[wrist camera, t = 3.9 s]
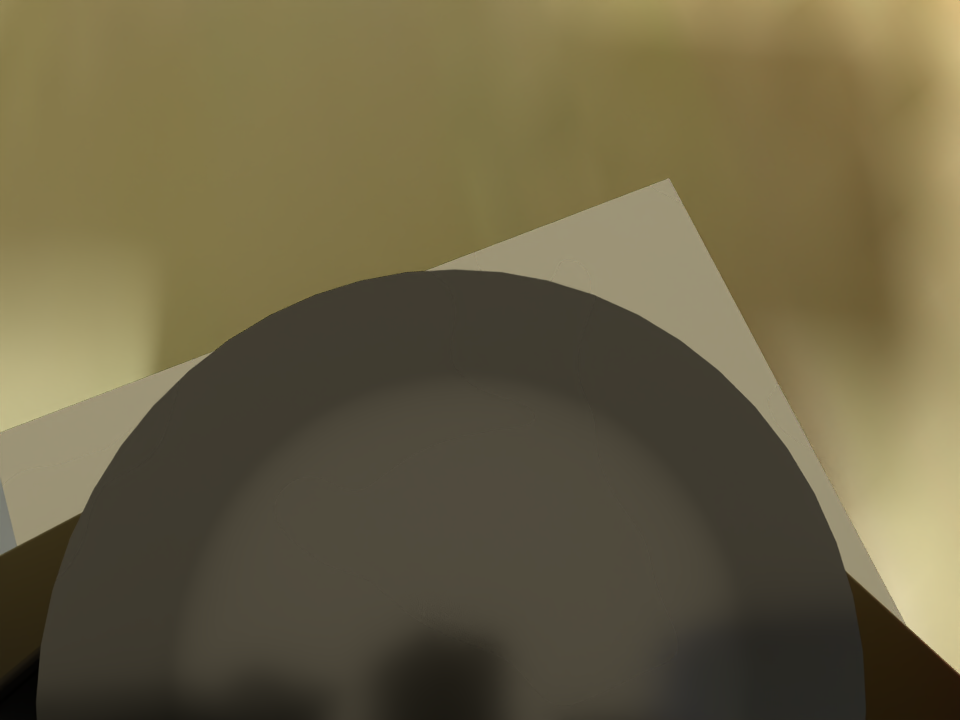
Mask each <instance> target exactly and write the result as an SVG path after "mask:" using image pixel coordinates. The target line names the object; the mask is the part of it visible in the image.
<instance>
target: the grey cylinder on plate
mask: <svg viewBox="0 0 960 720" xmlns="http://www.w3.org/2000/svg"><path fill="white" fill-rule="evenodd" d="M0 478H1V483H2V487H3V491H4V495H5V499H6V503H7V507H8V511H9V515H10V519H11V524H12V528H13V532H14V536H15V540H16V544H17V546H18V545H20V544H22V543H24V542H26V541H28V540H30V539H32V538H34V537H36V536H38V535H39V534H41V533H43V532H45V531H47V530H49V529H51V528H53V527H55V526H57V525H59V524H61V523H62V522H64V521H66V520H68V519H70V518H72V517H74V516H76V515H78V514H80V513H82V514H81V516H80V518H79V521H78V523H77V525H76V527H75V529H74V531H73V533H72V535H71V537H70V540H69V543H68V546H67V549H66V552H65V555H64V558H63V561H62V563H61V566H60V569H59V572H58V575H57V578H56V581H55V584H54V587H53V590H52V595H51V599H50V604H49V609H48V614H47V619H46V623H45V628H44V633H43V638H42V643H41V650H40V662H39V674H38V686H37V697H36V712H37V720H865V715H866V701H865V682H864V662H863V649H862V643H861V638H860V632H859V627H858V621H857V615H856V610H855V604H854V598H853V594H852V591H851V588H850V584H849V581H848V578H847V575H846V571H847V572H848V573H849V574H850V575H851V576H852V577H853V578H854V579H855V580H856V581H858V582H859V583H860V584H861V585H862V586H863V587H864V588H865V589H866V590H867V591H869V592H870V593H871V594H872V595H873V596H874V597H875V598H876V599H877V600H878V601H880V602H881V603H882V604H883V605H884V606H885V607H886V608H887V609H888V610H889V611H891V612H892V613H893V614H894V615H895V616H896V617H897V618H898V619H899V620H900V621H902V622H903V623H904V624H905V622H904V620H903V618H902V616H901V615H900V613H899V611H898V609H897V607H896V605H895V603H894V601H893V599H892V598H891V596H890V594H889V592H888V590H887V588H886V586H885V584H884V582H883V581H882V579H881V577H880V575H879V573H878V571H877V569H876V567H875V565H874V564H873V562H872V560H871V558H870V556H869V554H868V552H867V550H866V548H865V547H864V545H863V543H862V541H861V539H860V537H859V535H858V533H857V532H856V530H855V528H854V526H853V524H852V522H851V520H850V518H849V516H848V515H847V513H846V511H845V509H844V507H843V505H842V503H841V501H840V499H839V498H838V496H837V494H836V492H835V490H834V488H833V486H832V484H831V482H830V481H829V479H828V477H827V475H826V473H825V471H824V469H823V467H822V465H821V464H820V462H819V460H818V458H817V456H816V454H815V452H814V450H813V448H812V447H811V445H810V443H809V441H808V439H807V437H806V435H805V433H804V431H803V430H802V428H801V426H800V424H799V422H798V420H797V418H796V416H795V414H794V413H793V411H792V409H791V407H790V405H789V403H788V401H787V399H786V397H785V396H784V394H783V392H782V390H781V388H780V386H779V384H778V382H777V381H776V379H775V377H774V375H773V373H772V371H771V369H770V367H769V365H768V364H767V362H766V360H765V358H764V356H763V354H762V352H761V350H760V348H759V347H758V345H757V343H756V341H755V339H754V337H753V335H752V333H751V331H750V330H749V328H748V326H747V324H746V322H745V320H744V318H743V316H742V314H741V313H740V311H739V309H738V307H737V305H736V303H735V301H734V299H733V297H732V296H731V294H730V292H729V290H728V288H727V286H726V284H725V282H724V280H723V279H722V277H721V275H720V273H719V271H718V269H717V267H716V265H715V263H714V262H713V260H712V258H711V256H710V254H709V252H708V250H707V248H706V247H705V245H704V243H703V241H702V239H701V237H700V235H699V233H698V231H697V230H696V228H695V226H694V224H693V222H692V220H691V218H690V216H689V214H688V213H687V211H686V209H685V207H684V205H683V203H682V201H681V199H680V197H679V196H678V194H677V192H676V190H675V188H674V186H673V184H672V182H671V180H670V179H669V178H668V179H665V180H663V181H660V182H657V183H655V184H652V185H649V186H647V187H644V188H642V189H639V190H636V191H634V192H631V193H628V194H626V195H623V196H621V197H618V198H615V199H613V200H610V201H607V202H605V203H602V204H600V205H597V206H594V207H592V208H589V209H586V210H584V211H581V212H579V213H576V214H573V215H571V216H568V217H565V218H563V219H560V220H557V221H555V222H552V223H550V224H547V225H544V226H542V227H539V228H536V229H534V230H531V231H529V232H526V233H523V234H521V235H518V236H515V237H513V238H510V239H508V240H505V241H502V242H500V243H497V244H494V245H492V246H489V247H487V248H484V249H481V250H479V251H476V252H473V253H471V254H468V255H465V256H463V257H460V258H458V259H455V260H452V261H450V262H447V263H444V264H442V265H439V266H437V267H434V268H431V269H429V270H426V271H419V272H406V273H400V274H395V275H389V276H384V277H378V278H373V279H368V280H362V281H358V282H355V283H352V284H349V285H345V286H342V287H339V288H336V289H333V290H329V291H326V292H323V293H320V294H317V295H314V296H312V297H309V298H307V299H305V300H303V301H300V302H298V303H296V304H294V305H291V306H289V307H287V308H285V309H282V310H280V311H278V312H276V313H274V314H271V315H269V316H268V317H266V318H264V319H263V320H261V321H259V322H258V323H256V324H254V325H253V326H251V327H249V328H248V329H246V330H244V331H243V332H241V333H239V334H238V335H236V336H234V337H233V338H231V339H229V340H228V341H227V342H225V343H224V344H223V345H221V346H220V347H219V348H218V349H216V350H215V351H213V352H211V353H208V354H205V355H203V356H200V357H197V358H195V359H192V360H190V361H187V362H184V363H182V364H179V365H176V366H174V367H171V368H168V369H166V370H163V371H161V372H158V373H155V374H153V375H150V376H147V377H145V378H142V379H140V380H137V381H134V382H132V383H129V384H126V385H124V386H121V387H119V388H116V389H113V390H111V391H108V392H105V393H103V394H100V395H98V396H95V397H92V398H90V399H87V400H84V401H82V402H79V403H76V404H74V405H71V406H69V407H66V408H63V409H61V410H58V411H55V412H53V413H50V414H48V415H45V416H42V417H40V418H37V419H34V420H32V421H29V422H27V423H24V424H21V425H19V426H16V427H13V428H11V429H8V430H6V431H3V432H0ZM905 625H906V624H905Z"/></svg>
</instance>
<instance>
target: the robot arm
mask: <svg viewBox="0 0 960 720" xmlns="http://www.w3.org/2000/svg"><path fill="white" fill-rule="evenodd" d="M81 514H82V513H80V514H78V515H76V516H74V517H72V518H70V519H68V520H66V521H64V522H62V523H61V524H59V525H57V526H55V527H53V528H51V529H49V530H47V531H45V532H43V533H41V534H39V535H38V536H36V537H34V538H32V539H30V540H28V541H26V542H24V543H22V544H20V545H18V546H16V547H15V548H13V549H11V550H9V551H7V552H5V553H3V554H1V555H0V720H37V712H36V697H37V686H38V674H39V662H40V650H41V643H42V638H43V633H44V628H45V623H46V619H47V614H48V609H49V604H50V599H51V595H52V590H53V587H54V584H55V581H56V578H57V575H58V572H59V569H60V566H61V563H62V561H63V558H64V555H65V552H66V549H67V546H68V543H69V540H70V537H71V535H72V533H73V531H74V529H75V527H76V525H77V523H78V521H79V518H80V516H81ZM846 575H847V578H848V581H849V584H850V588H851V591H852V594H853V598H854V604H855V610H856V615H857V621H858V627H859V632H860V638H861V643H862V649H863V662H864V682H865V701H866V715H865V720H960V674H959V673H958V672H957V671H956V670H954V669H953V668H952V667H951V666H950V665H949V664H948V663H947V662H946V661H944V660H943V659H942V658H941V657H940V656H939V655H938V654H937V653H936V652H935V651H933V650H932V649H931V648H930V647H929V646H928V645H927V644H926V643H925V642H924V641H922V640H921V639H920V638H919V637H918V636H917V635H916V634H915V633H914V632H913V631H911V630H910V629H909V628H908V627H907V626H906V625H905V624H904V623H903V622H902V621H900V620H899V619H898V618H897V617H896V616H895V615H894V614H893V613H892V612H891V611H889V610H888V609H887V608H886V607H885V606H884V605H883V604H882V603H881V602H880V601H878V600H877V599H876V598H875V597H874V596H873V595H872V594H871V593H870V592H869V591H867V590H866V589H865V588H864V587H863V586H862V585H861V584H860V583H859V582H858V581H856V580H855V579H854V578H853V577H852V576H851V575H850V574H849V573H848V572H847V571H846Z"/></svg>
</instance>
